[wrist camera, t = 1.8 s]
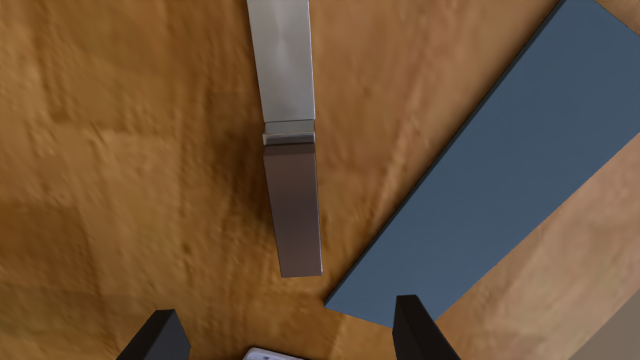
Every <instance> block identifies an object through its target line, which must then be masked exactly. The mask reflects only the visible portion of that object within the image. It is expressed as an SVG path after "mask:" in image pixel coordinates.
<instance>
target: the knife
mask: <svg viewBox="0 0 640 360" xmlns="http://www.w3.org/2000/svg"><path fill="white" fill-rule="evenodd" d="M247 6H248V13H249V20H250V27H251V34H252V41H253V48H254V55H255V61H256V68H257V75H258V82H259V89H260V96H261V103H262V110H263V117H264V122H266V123H265V127H264V130H263V134H262V137H263V144H264V145H265V148H264V153H263V162H264V168H265V175H266V181H267V188H268V194H269V201H270V207H271V213H272V220H273V226H274V233H275V239H276V245H277V252H278V258H279V265H280V271H281V277H282V278H288V277H304V276H320V275H322V274H323V271H322V254H321V237H320V220H319V203H318V187H317V170H316V153H315V142H316V136H315V120H314V119H315V102H314V85H313V67H312V49H311V31H310V14H309V0H247Z"/></svg>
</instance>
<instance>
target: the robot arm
mask: <svg viewBox="0 0 640 360" xmlns="http://www.w3.org/2000/svg"><path fill="white" fill-rule="evenodd" d="M392 335H393V341H394V346H395V352H396V357H397V360H461V359H460V358H459V356H458V355H457V354H456V352H455V351H454V349H453V348H452V347H451V345H450V344H449V343H448V341H447V340H446V338H445V337H444V336H443V334H442V333H441V331H440V330H439V328H438V327H437V325H436V324H435V322H434V321H433V319H432V318H431V316H430V315H429V313H428V312H427V310H426V308H425V307H424V305H423V304H422V302H421V300H420V299H419V297H418V296H417V295H416V294H414V295H398V296H397V297H396V305H395V314H394V322H393V331H392ZM190 348H191V346H190V343H189V341H188V339H187V336H186V334H185V332H184V330H183V327H182V325H181V323H180V321H179V318H178V316H177V314H176V311H175V309H171V310H156V311H155V312H154V313H153V314H152V315H151V316H150V318H149V319H148V320H147V321H146V323H145V324H144V325H143V326H142V328H141V329H140V330H139V331H138V333H137V334H136V335H135V336H134V338H133V339H132V340H131V341H130V343H129V344H128V345H127V346H126V348H125V349H124V350H123V351H122V353H121V354H120V355H119V356H118V357H117V359H116V360H188V358H189V353H190ZM243 360H303V359H299V358H295V357H291V356H287V355H283V354H279V353H275V352H271V351H267V350H263V349H259V348H251V349H250V350H249V351H248V352H247V354H246V355H245V357H244V358H243Z"/></svg>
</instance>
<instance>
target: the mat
mask: <svg viewBox="0 0 640 360" xmlns="http://www.w3.org/2000/svg"><path fill="white" fill-rule="evenodd" d="M639 132H640V36H639V35H637V34H636V33H635V32H633V31H632V30H631V29H630V28H628V27H627V26H626V25H625V24H623V23H622V22H621V21H620V20H618V19H617V18H616V17H615V16H613V15H612V14H611V13H609V12H608V11H607V10H606V9H604V8H603V7H602V6H601V5H599V4H598V3H597V2H596V1H594V0H560V1H559V2H558V4H557V5H556V6H555V8H554V9H553V10H552V11H551V13H550V14H549V15H548V17H547V18H546V19H545V20H544V22H543V23H542V24H541V25H540V27H539V28H538V29H537V31H536V32H535V33H534V34H533V36H532V37H531V38H530V40H529V41H528V42H527V43H526V45H525V46H524V47H523V49H522V50H521V51H520V52H519V54H518V55H517V56H516V58H515V59H514V60H513V61H512V63H511V64H510V65H509V66H508V68H507V69H506V70H505V72H504V73H503V74H502V75H501V77H500V78H499V79H498V81H497V82H496V83H495V84H494V86H493V87H492V88H491V90H490V91H489V92H488V93H487V95H486V96H485V97H484V99H483V100H482V101H481V102H480V104H479V105H478V106H477V107H476V109H475V110H474V111H473V113H472V114H471V115H470V116H469V118H468V119H467V120H466V122H465V123H464V124H463V125H462V127H461V128H460V129H459V131H458V132H457V133H456V134H455V136H454V137H453V138H452V140H451V141H450V142H449V143H448V145H447V146H446V147H445V148H444V150H443V151H442V152H441V154H440V155H439V156H438V157H437V159H436V160H435V161H434V163H433V164H432V165H431V166H430V168H429V169H428V170H427V172H426V173H425V174H424V175H423V177H422V178H421V179H420V181H419V182H418V183H417V184H416V186H415V187H414V188H413V189H412V191H411V192H410V193H409V195H408V196H407V197H406V198H405V200H404V201H403V202H402V204H401V205H400V206H399V207H398V209H397V210H396V211H395V213H394V214H393V215H392V216H391V218H390V219H389V220H388V222H387V223H386V224H385V225H384V227H383V228H382V229H381V231H380V232H379V233H378V234H377V236H376V237H375V238H374V239H373V241H372V242H371V243H370V245H369V246H368V247H367V248H366V250H365V251H364V252H363V254H362V255H361V256H360V257H359V259H358V260H357V261H356V263H355V264H354V265H353V266H352V268H351V269H350V270H349V272H348V273H347V274H346V275H345V277H344V278H343V279H342V280H341V282H340V283H339V284H338V286H337V287H336V288H335V289H334V291H333V292H332V293H331V295H330V296H329V297H328V298H327V300H326V301H325V302H324V308H328V309H331V310H334V311H337V312H341V313H344V314H347V315H351V316H354V317H357V318H360V319H364V320H367V321H370V322H374V323H377V324H380V325H384V326H387V327H390V328H393V322H394V314H395V305H396V297H397V296H398V295H414V294H416V295H417V296H418V297H419V299H420V300H421V302H422V304H423V305H424V307H425V308H426V310H427V312H428V313H429V315H430V316H431V318H432V319H433V321H435V320H436V319H437V318H439V317H440V316H441V315H442V314H443V313H444V312H445V311H446V310H447V309H448V308H449V307H450V306H452V305H453V304H454V303H455V302H456V301H457V300H458V299H459V298H460V297H461V296H462V295H463V294H465V293H466V292H467V291H468V290H469V289H470V288H471V287H472V286H473V285H474V284H475V283H476V282H478V281H479V280H480V279H481V278H482V277H483V276H484V275H485V274H486V273H487V272H488V271H489V270H491V269H492V268H493V267H494V266H495V265H496V264H497V263H498V262H499V261H500V260H501V259H502V258H504V257H505V256H506V255H507V254H508V253H509V252H510V251H511V250H512V249H513V248H514V247H515V246H517V245H518V244H519V243H520V242H521V241H522V240H523V239H524V238H525V237H526V236H527V235H528V234H530V233H531V232H532V231H533V230H534V229H535V228H536V227H537V226H538V225H539V224H540V223H541V222H543V221H544V220H545V219H546V218H547V217H548V216H549V215H550V214H551V213H552V212H553V211H555V210H556V209H557V208H558V207H559V206H560V205H561V204H562V203H563V202H564V201H565V200H566V199H568V198H569V197H570V196H571V195H572V194H573V193H574V192H575V191H576V190H577V189H578V188H579V187H581V186H582V185H583V184H584V183H585V182H586V181H587V180H588V179H589V178H590V177H591V176H592V175H594V174H595V173H596V172H597V171H598V170H599V169H600V168H601V167H602V166H603V165H604V164H605V163H607V162H608V161H609V160H610V159H611V158H612V157H613V156H614V155H615V154H616V153H617V152H618V151H620V150H621V149H622V148H623V147H624V146H625V145H626V144H627V143H628V142H629V141H630V140H631V139H633V138H634V137H635V136H636V135H637V134H638V133H639Z"/></svg>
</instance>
